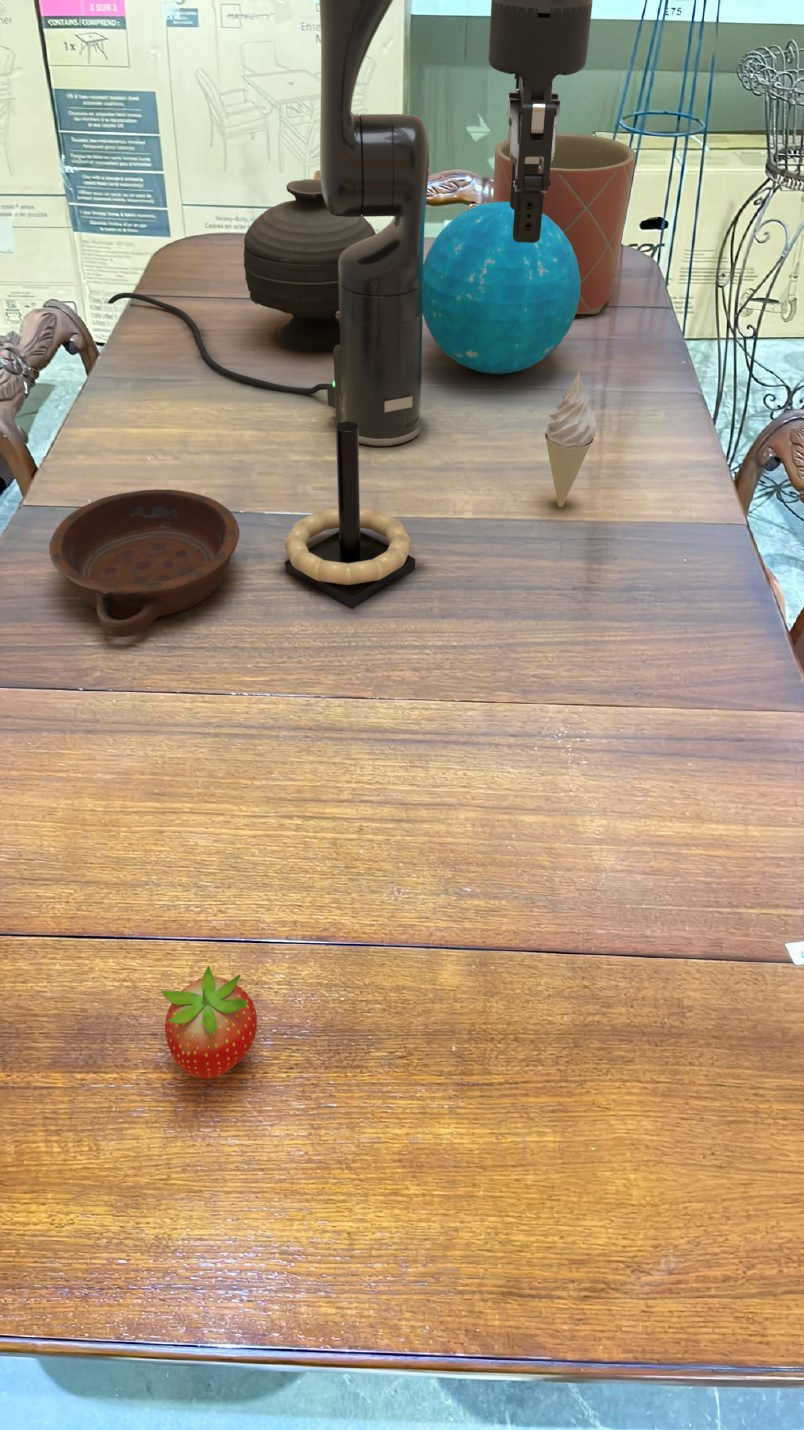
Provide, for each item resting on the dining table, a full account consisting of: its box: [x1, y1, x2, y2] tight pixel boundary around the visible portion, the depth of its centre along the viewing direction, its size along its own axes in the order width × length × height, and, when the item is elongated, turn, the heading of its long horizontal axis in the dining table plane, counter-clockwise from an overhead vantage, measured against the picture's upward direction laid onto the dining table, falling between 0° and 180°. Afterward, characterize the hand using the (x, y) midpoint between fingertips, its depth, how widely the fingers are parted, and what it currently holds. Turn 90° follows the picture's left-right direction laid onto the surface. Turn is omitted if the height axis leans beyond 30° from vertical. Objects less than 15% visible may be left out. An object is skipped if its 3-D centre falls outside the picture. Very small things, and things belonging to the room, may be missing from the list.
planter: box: [492, 132, 637, 315], centre depth 153 cm, size 19×19×20 cm
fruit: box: [160, 965, 258, 1079], centre depth 63 cm, size 5×5×8 cm
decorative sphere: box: [423, 201, 580, 375], centre depth 135 cm, size 20×20×20 cm
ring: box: [283, 507, 412, 585], centre depth 105 cm, size 12×12×2 cm
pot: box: [243, 178, 377, 353], centre depth 142 cm, size 18×18×20 cm
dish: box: [48, 488, 240, 638], centre depth 102 cm, size 18×22×5 cm
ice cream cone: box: [543, 371, 597, 508], centre depth 110 cm, size 5×5×15 cm
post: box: [284, 422, 416, 609], centre depth 100 cm, size 9×9×15 cm
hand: (523, 224), depth 91 cm, fingers open, 8 cm apart
